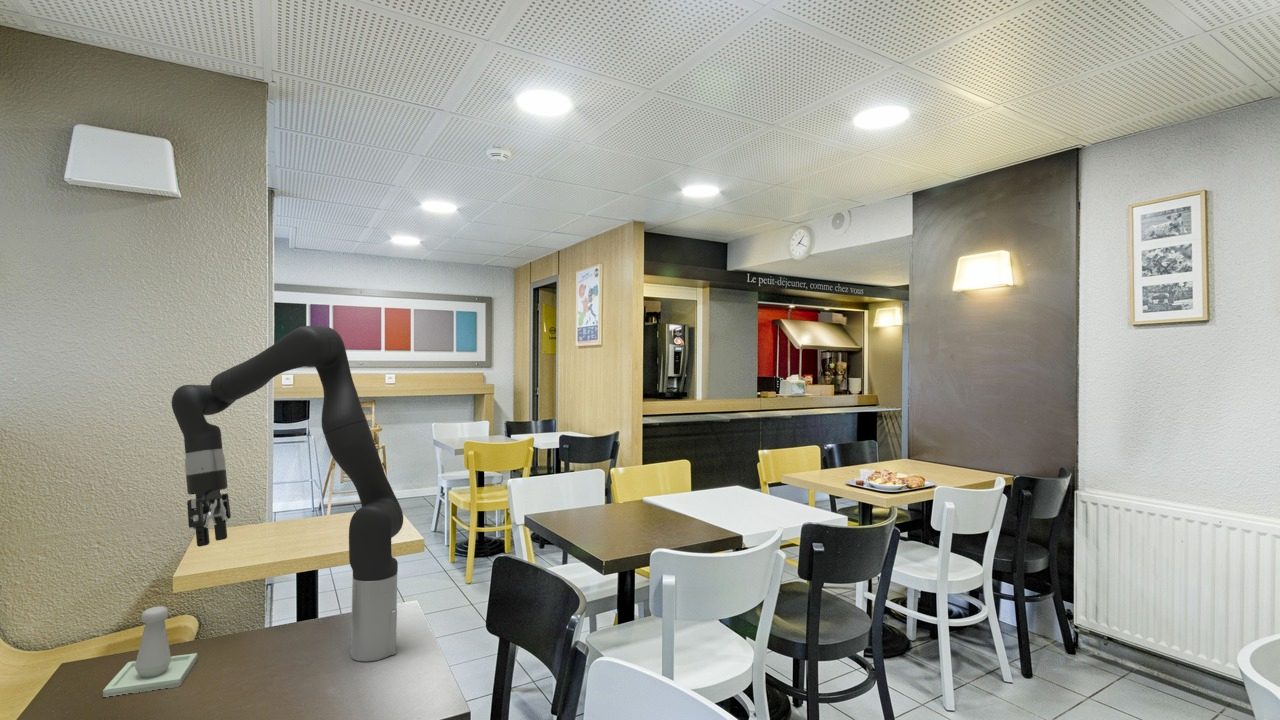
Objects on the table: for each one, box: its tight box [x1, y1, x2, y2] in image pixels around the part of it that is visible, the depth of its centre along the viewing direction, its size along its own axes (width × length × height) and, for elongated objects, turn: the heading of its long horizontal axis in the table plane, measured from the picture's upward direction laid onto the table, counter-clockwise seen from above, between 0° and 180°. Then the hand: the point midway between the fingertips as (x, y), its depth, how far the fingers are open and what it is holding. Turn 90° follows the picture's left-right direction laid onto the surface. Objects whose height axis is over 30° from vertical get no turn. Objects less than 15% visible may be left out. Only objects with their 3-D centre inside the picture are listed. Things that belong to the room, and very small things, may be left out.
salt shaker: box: [135, 605, 171, 678], centre depth 125 cm, size 6×6×13 cm
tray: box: [102, 652, 198, 698], centre depth 125 cm, size 12×12×2 cm
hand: (212, 542), depth 140 cm, fingers open, 8 cm apart
